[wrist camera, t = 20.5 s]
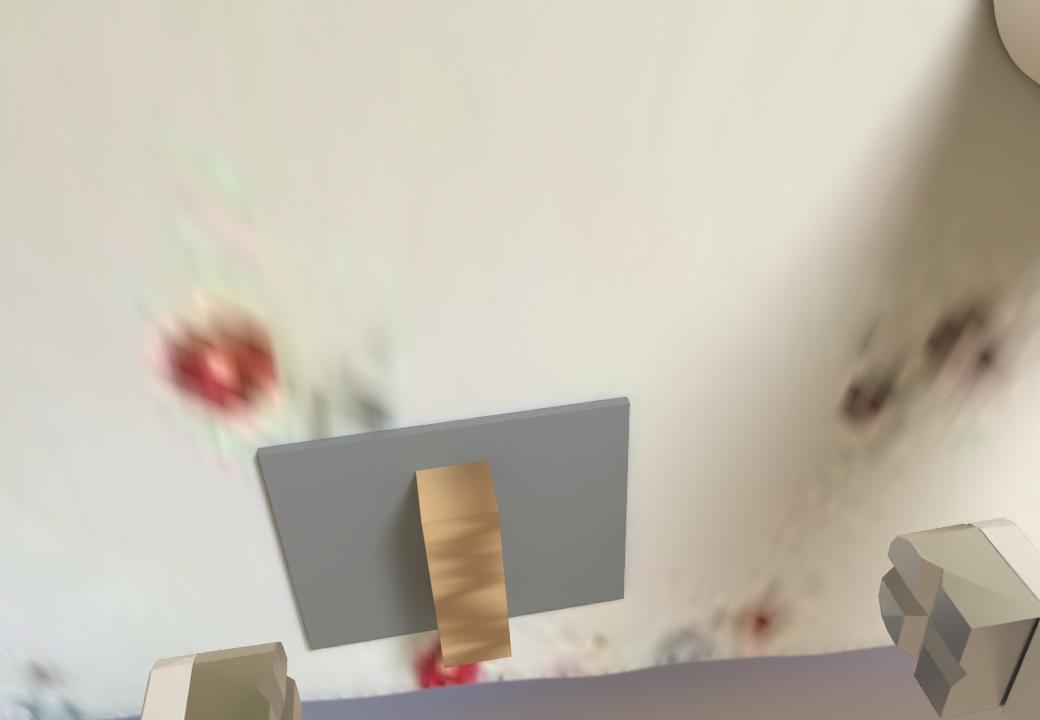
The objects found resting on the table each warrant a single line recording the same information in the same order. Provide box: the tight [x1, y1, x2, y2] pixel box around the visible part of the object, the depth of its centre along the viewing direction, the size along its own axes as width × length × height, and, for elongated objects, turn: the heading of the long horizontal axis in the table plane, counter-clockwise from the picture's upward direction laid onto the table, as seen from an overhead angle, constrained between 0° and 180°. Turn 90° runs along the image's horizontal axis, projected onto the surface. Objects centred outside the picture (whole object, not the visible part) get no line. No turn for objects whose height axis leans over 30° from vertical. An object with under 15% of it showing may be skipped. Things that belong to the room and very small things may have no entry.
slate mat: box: [258, 397, 630, 650], centre depth 54 cm, size 20×16×1 cm
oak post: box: [416, 460, 511, 668], centre depth 52 cm, size 4×4×12 cm
